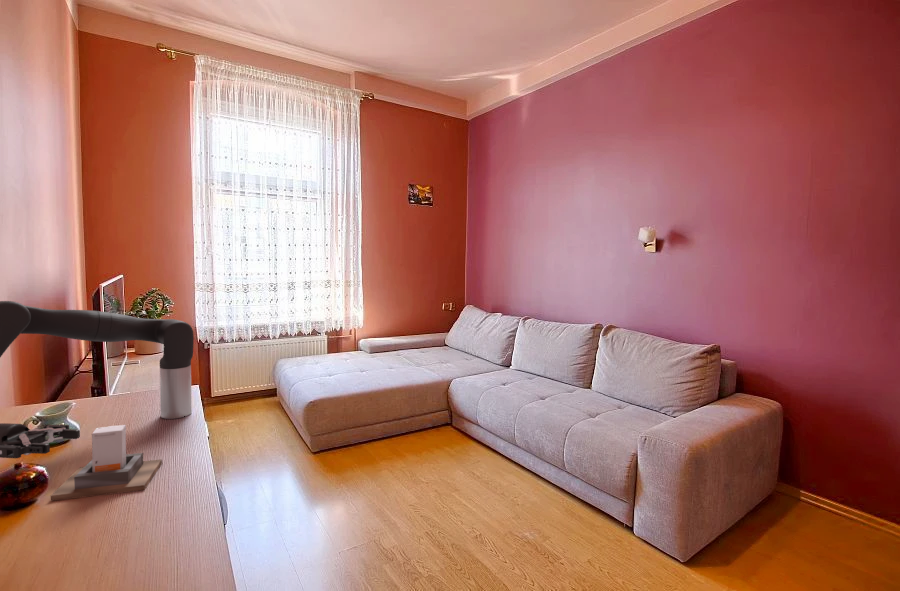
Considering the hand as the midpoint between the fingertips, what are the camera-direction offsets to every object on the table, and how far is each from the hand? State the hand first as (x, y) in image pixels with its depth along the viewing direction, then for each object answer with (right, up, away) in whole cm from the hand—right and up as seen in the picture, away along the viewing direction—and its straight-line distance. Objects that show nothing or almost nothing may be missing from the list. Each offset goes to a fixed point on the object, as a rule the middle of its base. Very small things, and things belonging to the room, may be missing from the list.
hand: (64, 441), depth 107 cm
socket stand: (+11, -10, +1) cm, 15 cm away
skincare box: (+11, -9, +1) cm, 14 cm away
